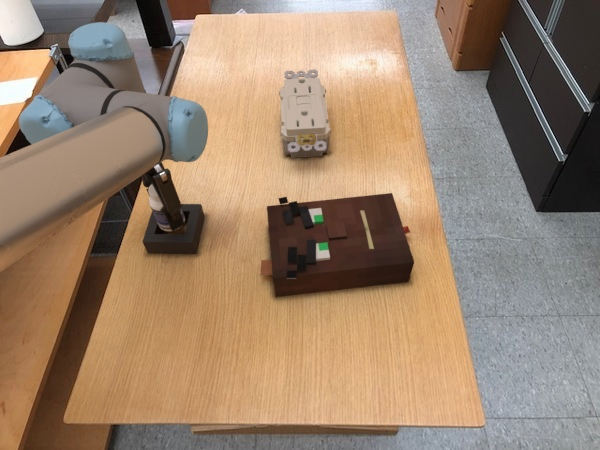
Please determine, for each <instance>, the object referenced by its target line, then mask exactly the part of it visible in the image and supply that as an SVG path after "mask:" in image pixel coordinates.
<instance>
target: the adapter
mask: <svg viewBox="0 0 600 450" xmlns="http://www.w3.org/2000/svg"><path fill="white" fill-rule="evenodd" d="M181 204H182V211H183V213H184V217H185V221H184V224H186V226H185V230H184V234H183V233H173V234H172V233H165V231H164V230H162V229H161V228H160V227H159V225H158V223H157V221H156V218H155V216H154V214H153V212H152V211H151V214H150V216H149V219H148V222H147V226H146V229H145V231H144V234H143V237H142V241H141V242H142V245H143V246H144V249H145V250H146V252H147V254H159V255H160V254H163V255H165V254H168V255H170V254H171V255H176V254H177V255H197V253H198V249H199V245H200V240H201V236H202V231H203V227H204V223H205V217H206V215H205V212H204V209H203V205H202V203H181Z"/></svg>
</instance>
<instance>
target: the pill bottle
mask: <svg viewBox="0 0 600 450" xmlns="http://www.w3.org/2000/svg"><path fill="white" fill-rule="evenodd" d="M147 189H148V188H147ZM148 192H149V194H148V204H149V207H150V209H151V213H152V212H153V214H154V216H155V218H156V221H157V223H158V225H159V227H160V228H161V229H162V230H164V232H173V231H172V230H171V228H170V226H169V224H168V221H167V219H166V216H165V214H164V213H162V212H161V210H160V209H162V207H163V205H162V203H161V201H160V199H159V197H158V195H157V193H156V191H155V189H154V187H153V185H152V184H151V185H150V187H149V189H148ZM148 192H147V193H148ZM149 195H150V197H149ZM180 213H181V216H182V218H183V221H185V217H184V213H183V211H182V208H181V209H180ZM179 229H180V228H178V229H176V230H175V231H177V230H179Z"/></svg>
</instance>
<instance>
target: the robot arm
mask: <svg viewBox="0 0 600 450" xmlns="http://www.w3.org/2000/svg"><path fill="white" fill-rule="evenodd" d="M67 44H68V45H67V46H68V47H69V50H70V55H71V57H72V58H73V60H72V62H71V63H70V64H68V66H67V67H66V69H64V71H63V72H61V73H60V74H59V75H58V76H57V77H56V78H55V79H53V80H52V81H51V82H50V83H49V84H48V85H47V86H46V87H45V88H43V89H42V90H41V91H40V92H39V93H37V94H35V96H34V97H33V99H32V101H31V102H30V103H29V104H28V105H27V106H26V107H25V108H24V109H23V110H22V112H21V113H20V115H19V117H18V125H19V129H20V131H21V133H22V134H23V135H24V136H25V139H26V140H27V141H28V143H30V145H28V146H24V147H22V148H20V149H17V150H16V151H12V152H11V153H9V154H6V155H3V156H1V157H0V273H2V272H3V271H5V269H7V268H9V267H11V266H12V265H13V264H14V263H16V262H17V261H19V260H20V259H21V258H24V257H26V255H27V254H30V252H32V251H34V250H35V249H37V248H38V247H39V246H41V245H42V244H44V243H45V242H47V241H48V240H50V239H51V238H52V237H54V236H56V235H57V234H58V233H60V232H61V231H63V230H64V229H65V228H67V227H68V226H70V225H71V224H73V223H74V222H76V221H77V220H79V219H80V218H81V217H83V216H85V215H86V214H88V213H89V212H90V211H92V210H93V209H95V208H96V207H98V206H99V205H100V204H102V203H104V202H105V201H106V200H108V199H110V198H111V197H112V196H114V195H115V194H117V193H118V192H119V191H121V190H123V189H124V188H125V187H127V186H128V185H130V184H131V183H132V182H135V180H137V179H138V180H140V181H142V186H143V187H144V188H146V189H145V190H146V192H147V194H148V198H149V197H150V195H149V192H148V189H149V187H150V185H151V184H152V185H153V187H154V189H155V191H156V193H157V195H158V197H159V199H160V201H161V203H162V205H163V207H162V209H160V210H161V212H162V213H164V214H165V216H166V219H167V221H168V224H169V226H170V228H171V230H172V231H171V232H174V231H177V230H179V229H180V228H182V227H183V226H185V224H186V223H184V221H183V218H182V216H181V213H180V209H181V208H182V204H183V203H181V200H180V197H179V194H178V191H177V189H176V187H175V184H174V182H173V178H172V173H171V170H170V169H169V168H165V166H164V164H163V162H164V161H167V160H168V161H173V162H175V163H179V162H182V163H194V162H196V161H197V160H199V159H200V157H202V155H203V153H204V151H205V149H206V146H207V142H208V137H209V119H208V115H207V113H206V110H205V109H204V107H203V106H202V105H201V104H200V103H199V102H197V101H194V100H190V99H185V98H182V97H178V96H176V95H172V96H170V95H161V94H155V93H147V91H146V89H145V86H144V83H143V80H142V77H141V73H140V70H139V68H138V65H137V61H136V57H135V52H134V51H133V49H132V47H131V45H130V43H129V41H128V38H127V35H126V34H125V31H124V30H123V29H122V28H121V27H120V26H118V25H117V24H114V23H112V22H104V21H97V22H91V23H88V24H83V25H81V26H80V27H77V28H76V29H75V30H73V31H72V32H71V33H70V35H69V38H68V41H67ZM178 228H179V229H178ZM176 229H177V230H176Z"/></svg>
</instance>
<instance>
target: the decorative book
mask: <svg viewBox="0 0 600 450" xmlns="http://www.w3.org/2000/svg"><path fill="white" fill-rule="evenodd" d="M278 202H279V204H273V205H267V206H266V211H267V225H268V236H269V237H268V238H269V248H270V259H260V276H272V283H273V290H274V295H275V298H280V297H281V298H282V297H289V296H299V295H306V294H307V295H308V294H316V293H325V292H333V291H334V292H335V291H343V290H350V289H361V288H368V287H369V288H370V287H377V286H378V287H379V286H387V285H396V284H405V283H410V279H411V275H412V272H413V269H414V265H415V260H414V256H413V253H412V250H411V248H410V244H409V241H408V237H407V235H406V234H411V231H410V229H409V225H406V226H403V222H402V219H401V216H400V213H399V210H398V207H397V203H396V200H395V197H394V195H393V193H392V192H389V193H388V192H387V193H379V194H370V195H360V196H352V197H342V198H332V199H321V200H312V201H302V202H298V201H297V200H295V201H290V202H289V200H288V197H287V196H282V197H278Z"/></svg>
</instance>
